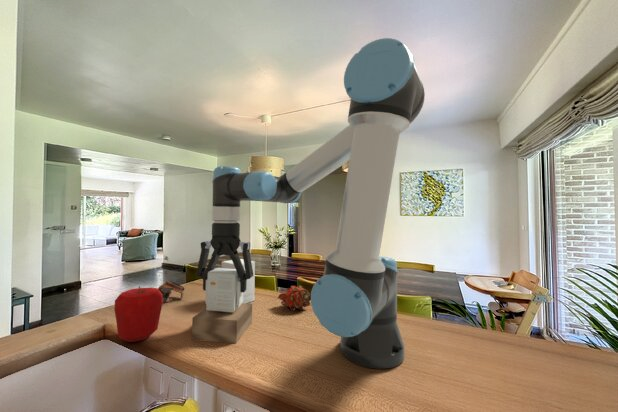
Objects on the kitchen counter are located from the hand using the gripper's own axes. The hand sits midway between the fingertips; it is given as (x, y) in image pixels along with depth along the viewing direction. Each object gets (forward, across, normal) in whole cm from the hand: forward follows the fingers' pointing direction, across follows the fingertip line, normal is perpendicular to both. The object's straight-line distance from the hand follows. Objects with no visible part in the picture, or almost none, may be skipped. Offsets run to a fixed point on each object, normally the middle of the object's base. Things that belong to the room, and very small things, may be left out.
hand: (224, 302), depth 72 cm
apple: (+8, +20, +7) cm, 23 cm away
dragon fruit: (+8, -17, -19) cm, 27 cm away
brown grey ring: (+8, +30, -19) cm, 37 cm away
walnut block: (+8, 0, 0) cm, 8 cm away
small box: (+2, 0, 0) cm, 2 cm away
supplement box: (+8, +5, -23) cm, 25 cm away
